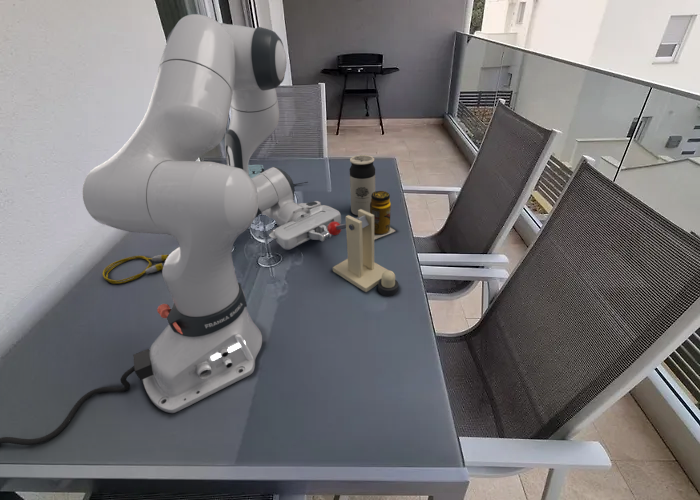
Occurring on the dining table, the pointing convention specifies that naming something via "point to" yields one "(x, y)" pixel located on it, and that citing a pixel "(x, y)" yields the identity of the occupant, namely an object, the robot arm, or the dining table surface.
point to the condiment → (381, 213)
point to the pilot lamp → (388, 284)
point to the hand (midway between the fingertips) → (327, 237)
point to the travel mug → (361, 182)
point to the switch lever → (344, 225)
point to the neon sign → (258, 171)
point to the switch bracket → (360, 254)
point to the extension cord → (147, 270)
